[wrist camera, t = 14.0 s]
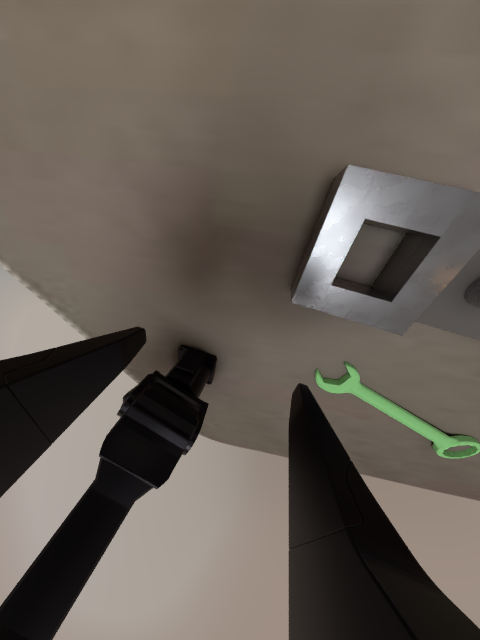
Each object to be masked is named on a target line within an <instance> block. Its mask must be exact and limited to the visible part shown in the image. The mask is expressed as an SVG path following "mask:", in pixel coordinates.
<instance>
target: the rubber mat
mask: <svg viewBox="0 0 480 640" xmlns="http://www.w3.org/2000/svg"><path fill="white" fill-rule="evenodd" d="M479 277H480V249H479V250H478V251H477V252H476V253H475V254H474V256H473V257H472V258H471V259H470V260H469V261H468V262H467V263H466V265H465V266H464V267H463V268H462V269H461V270H460V271H459V272H458V273H457V275H456V276H455V277H454V278H453V279H452V280H451V281H450V282H449V284H448V285H447V286H446V287H445V288H444V289H443V290H442V291H441V292H440V294H439V295H438V296H437V297H436V298H435V299H434V300H433V301H432V302H431V304H430V305H429V306H428V307H427V308H426V309H425V310H424V311H423V313H422V314H421V315H420V316H419V317H418V318H417V319H416V320H415V322H419V323H422V324H426V325H429V326H433V327H436V328H440V329H443V330H446V331H450V332H453V333H457V334H460V335H464V336H467V337H470V338H474V339H477V340H480V309H479V308H476V307H474V306H472V305H470V304H468V303H467V302H466V301H465V299H464V293H465V290H466V289H467V287H468V286H469V285H470V284H471V283H472V282H473V281H474V280H476V279H477V278H479Z"/></svg>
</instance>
